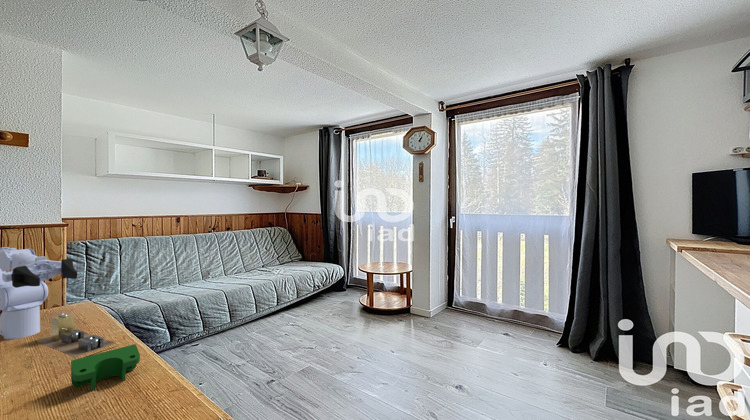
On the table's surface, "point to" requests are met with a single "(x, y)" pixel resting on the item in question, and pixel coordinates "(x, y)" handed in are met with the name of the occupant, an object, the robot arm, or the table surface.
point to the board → (71, 346)
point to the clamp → (104, 366)
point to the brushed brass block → (62, 325)
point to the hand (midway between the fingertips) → (57, 278)
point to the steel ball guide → (82, 340)
